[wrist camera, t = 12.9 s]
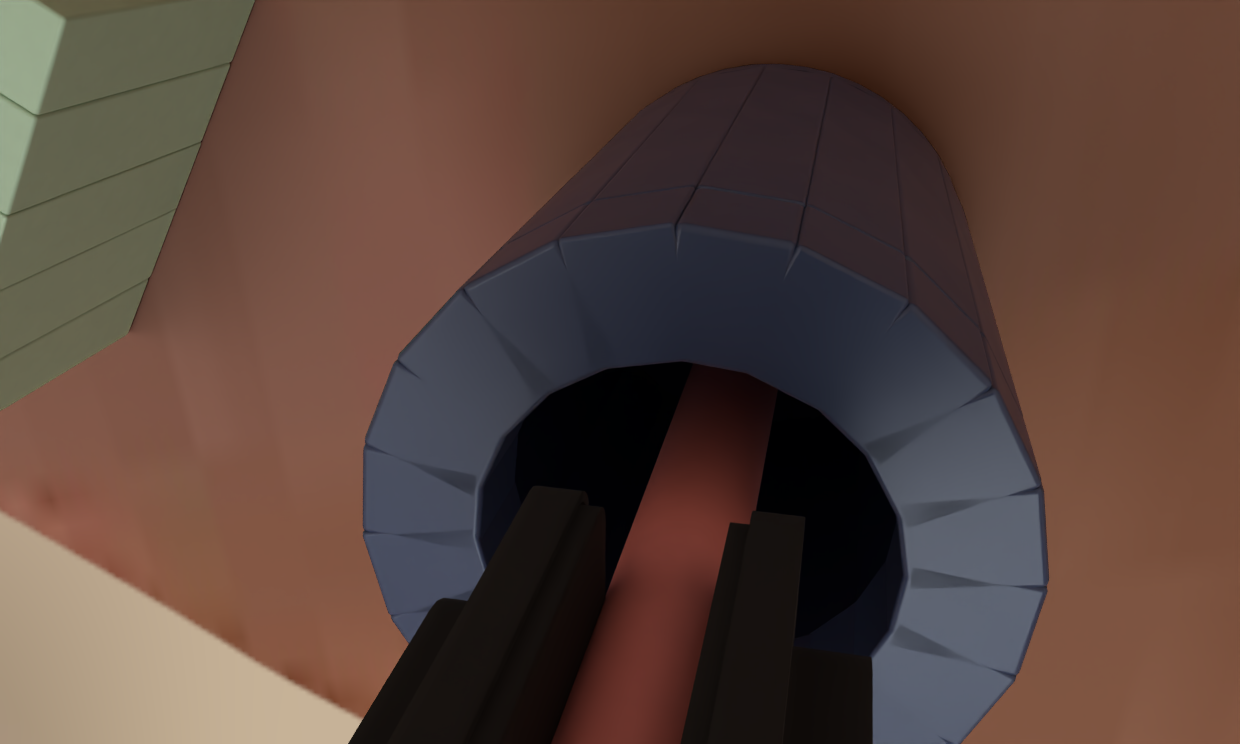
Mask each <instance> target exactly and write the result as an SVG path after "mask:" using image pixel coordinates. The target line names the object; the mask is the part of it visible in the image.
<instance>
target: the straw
mask: <svg viewBox="0 0 1240 744" xmlns="http://www.w3.org/2000/svg"><path fill="white" fill-rule="evenodd" d="M777 392H778V389H776V388H774V387H773V386H771V385H769V384H767V383H765V382H763V381H761V380H759V379H757V378H755V377H753V376H751V375H749V374H747V373H742V372H737V371H732V370H726V369H721V368H716V367H711V366H705V365H700V364H695V363H693V365H692V368H691V370H690V373H689V376H688V378H687V381H686V384H685V386H684V389H683V392H682V394H681V397H680V400H679V402H678V405H677V408H676V410H675V413H674V416H673V418H672V421H671V423H670V426H669V429H668V431H667V434H666V437H665V439H664V442H663V445H662V447H661V450H660V453H659V455H658V458H657V461H656V463H655V466H654V469H653V471H652V474H651V477H650V479H649V482H648V485H647V487H646V490H645V492H644V495H643V498H642V500H641V503H640V506H639V508H638V511H637V514H636V516H635V519H634V522H633V524H632V527H631V530H630V532H629V535H628V538H627V540H626V543H625V546H624V548H623V551H622V554H621V556H620V559H619V561H618V564H617V567H616V569H615V572H614V575H613V577H612V580H611V583H610V585H609V588H608V591H607V593H606V596H605V601H604V604H603V607H602V609H601V612H600V615H599V617H598V620H597V623H596V625H595V628H594V631H593V633H592V636H591V639H590V641H589V644H588V647H587V649H586V652H585V655H584V657H583V660H582V663H581V665H580V668H579V671H578V673H577V676H576V678H575V681H574V684H573V686H572V689H571V692H570V694H569V697H568V700H567V702H566V705H565V708H564V710H563V713H562V716H561V718H560V721H559V724H558V726H557V729H556V732H555V734H554V737H553V740H552V742H551V744H680V743H681V739H682V734H683V730H684V725H685V721H686V716H687V712H688V708H689V703H690V699H691V694H692V690H693V685H694V681H695V676H696V672H697V667H698V663H699V658H700V654H701V649H702V645H703V640H704V636H705V631H706V627H707V622H708V618H709V613H710V609H711V604H712V600H713V595H714V591H715V586H716V582H717V577H718V573H719V568H720V564H721V559H722V555H723V551H724V546H725V542H726V537H727V533H728V528H729V524H730V522H733V523H742V524H750V519H751V514H752V511H756V506H757V501H758V495H759V490H760V484H761V479H762V474H763V468H764V463H765V457H766V452H767V446H768V441H769V436H770V430H771V425H772V419H773V414H774V409H775V403H776V398H777Z"/></svg>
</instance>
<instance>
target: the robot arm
mask: <svg viewBox="0 0 1240 744" xmlns="http://www.w3.org/2000/svg"><path fill="white" fill-rule="evenodd" d="M804 528H805V517H802V516H794V515H785V514H777V513H768V512H760V511H752V514H751V519H750V524H742V523H733V522H730V524H729V528H728V533H727V537H726V542H725V546H724V551H723V555H722V559H721V564H720V568H719V573H718V577H717V582H716V586H715V591H714V595H713V600H712V604H711V609H710V613H709V618H708V622H707V627H706V631H705V636H704V640H703V645H702V649H701V654H700V658H699V663H698V667H697V672H696V676H695V681H694V685H693V690H692V694H691V699H690V703H689V708H688V712H687V716H686V721H685V725H684V730H683V734H682V739H681V743H680V744H873V667H872V658H871V657H868V656H861V655H854V654H847V653H839V652H832V651H825V650H818V649H811V648H804V647H797V646H794V636H795V626H796V615H797V604H798V593H799V582H800V572H801V561H802V550H803V539H804ZM605 543H606V520H605V510H604V508H603V507H598V506H590V505H589V501H588V496H587V493H586V492H585V491H579V490H570V489H562V488H553V487H545V486H533V487H532V488H531V490H530V491H529V493H528V494H527V496H526V498H525V500H524V501H523V503H522V505H521V507H520V509H519V510H518V512H517V514H516V516H515V517H514V519H513V521H512V523H511V525H510V526H509V528H508V530H507V532H506V533H505V535H504V537H503V539H502V541H501V542H500V544H499V546H498V548H497V549H496V551H495V553H494V555H493V556H492V558H491V560H490V562H489V564H488V565H487V567H486V569H485V571H484V572H483V574H482V576H481V578H480V580H479V581H478V583H477V585H476V587H475V588H474V590H473V592H472V594H471V595H470V597H469V599H468V601H465V600H458V599H451V598H442V599H439V600H437V601H436V603H435V604H434V605H433V606H432V608H431V609H430V610H429V612H428V613H427V615H426V617H425V618H424V620H423V622H422V623H421V625H420V627H419V628H418V630H417V631H416V633H415V635H414V636H413V638H412V640H411V641H410V643H409V645H408V646H407V648H406V650H405V651H404V653H403V654H402V656H401V658H400V659H399V661H398V663H397V664H396V666H395V668H394V669H393V671H392V673H391V674H390V676H389V677H388V679H387V681H386V682H385V684H384V686H383V687H382V689H381V691H380V692H379V694H378V696H377V697H376V699H375V700H374V702H373V704H372V705H371V707H370V709H369V710H368V712H367V714H366V715H365V717H364V719H363V720H362V722H361V723H360V725H359V727H358V728H357V730H356V732H355V733H354V735H353V737H352V738H351V740H350V742H349V743H348V744H551V742H552V740H553V737H554V734H555V732H556V729H557V726H558V724H559V721H560V718H561V716H562V713H563V710H564V708H565V705H566V702H567V700H568V697H569V694H570V692H571V689H572V686H573V684H574V681H575V678H576V676H577V673H578V671H579V668H580V665H581V663H582V660H583V657H584V655H585V652H586V649H587V647H588V644H589V641H590V639H591V636H592V633H593V631H594V628H595V625H596V623H597V620H598V617H599V615H600V612H601V609H602V607H603V604H604V601H605Z"/></svg>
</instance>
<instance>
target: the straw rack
mask: <svg viewBox="0 0 1240 744" xmlns="http://www.w3.org/2000/svg"><path fill="white" fill-rule="evenodd" d="M254 2H255V0H0V411H1V410H3V409H5V408H6V407H8V406H10V405H11V404H13V403H15V402H16V401H18V400H19V399H21V398H23V397H24V396H26V395H28V394H29V393H31V392H33V391H34V390H36V389H38V388H39V387H41V386H43V385H44V384H46V383H48V382H49V381H51V380H53V379H54V378H56V377H58V376H59V375H61V374H63V373H64V372H66V371H67V370H69V369H71V368H72V367H74V366H76V365H77V364H79V363H81V362H82V361H84V360H86V359H87V358H89V357H91V356H92V355H94V354H96V353H97V352H99V351H101V350H102V349H104V348H106V347H107V346H109V345H111V344H112V343H114V342H116V341H117V340H119V339H120V338H122V337H124V336H125V335H127V334H128V332H129V329H130V327H131V324H132V322H133V319H134V316H135V314H136V311H137V308H138V306H139V303H140V301H141V298H142V295H143V293H144V290H145V287H146V285H147V282H148V278H149V277H150V276H151V274H152V271H153V269H154V266H155V263H156V261H157V258H158V256H159V253H160V250H161V248H162V245H163V242H164V240H165V237H166V234H167V232H168V229H169V227H170V224H171V221H172V219H173V216H174V213H175V211H176V208H177V206H178V203H179V200H180V198H181V195H182V193H183V190H184V187H185V185H186V182H187V179H188V177H189V174H190V171H191V169H192V166H193V164H194V161H195V158H196V156H197V153H198V150H199V148H200V145H201V142H200V141H201V140H202V139H203V136H204V133H205V131H206V128H207V125H208V123H209V120H210V117H211V115H212V112H213V110H214V107H215V104H216V102H217V99H218V96H219V94H220V91H221V89H222V86H223V83H224V81H225V78H226V75H227V73H228V70H229V67H230V63H229V62H231V61H232V59H233V57H234V54H235V52H236V49H237V46H238V44H239V41H240V38H241V36H242V33H243V31H244V28H245V25H246V23H247V20H248V17H249V15H250V12H251V9H252V7H253V4H254Z"/></svg>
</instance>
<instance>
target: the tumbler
mask: <svg viewBox="0 0 1240 744" xmlns="http://www.w3.org/2000/svg"><path fill="white" fill-rule="evenodd" d="M693 363H695V364H700V365H705V366H711V367H716V368H721V369H726V370H732V371H737V372H742V373H747V374H749V375H751V376H753V377H755V378H757V379H759V380H761V381H763V382H765V383H767V384H769V385H771V386H773V387H774V388H776V389H778V392H777V398H776V403H775V409H774V414H773V419H772V425H771V430H770V436H769V441H768V446H767V452H766V457H765V463H764V468H763V474H762V479H761V484H760V490H759V495H758V501H757V506H756V511H760V512H768V513H777V514H785V515H794V516H802V517H805V528H804V539H803V550H802V561H801V572H800V582H799V593H798V604H797V615H796V626H795V636H794V646H797V647H804V648H811V649H818V650H825V651H832V652H839V653H847V654H854V655H861V656H868V657H871V658H872V667H873V744H961V743H962V741H963V740H964V739H965V738H966V737H967V736H968V735H969V733H970V732H971V731H972V730H973V729H974V728H975V726H976V725H977V724H978V723H979V722H980V721H981V719H982V718H983V717H984V716H985V715H986V714H987V713H988V711H989V710H990V709H991V708H992V707H993V706H994V704H995V703H996V702H997V701H998V700H999V699H1000V697H1001V696H1002V695H1003V694H1004V693H1005V692H1006V690H1007V689H1008V688H1009V687H1010V686H1011V685H1012V684H1013V682H1014V681H1015V679H1016V675H1017V674H1018V673H1019V671H1020V669H1021V666H1022V663H1023V660H1024V657H1025V654H1026V651H1027V649H1028V646H1029V643H1030V640H1031V637H1032V634H1033V631H1034V629H1035V626H1036V623H1037V620H1038V617H1039V614H1040V611H1041V609H1042V606H1043V603H1044V600H1045V597H1046V594H1047V584H1048V581H1049V569H1048V552H1047V535H1046V518H1045V501H1044V490H1043V486H1042V483H1041V477H1040V474H1039V471H1038V467H1037V464H1036V460H1035V457H1034V453H1033V450H1032V446H1031V443H1030V439H1029V436H1028V432H1027V429H1026V425H1025V422H1024V419H1023V415H1022V411H1021V408H1020V404H1019V401H1018V397H1017V394H1016V390H1015V387H1014V383H1013V380H1012V377H1011V373H1010V370H1009V366H1008V363H1007V359H1006V356H1005V352H1004V349H1003V345H1002V342H1001V338H1000V335H999V331H998V328H997V324H996V321H995V318H994V314H993V311H992V307H991V304H990V300H989V297H988V293H987V290H986V286H985V283H984V279H983V276H982V272H981V269H980V265H979V262H978V259H977V255H976V252H975V248H974V245H973V241H972V238H971V234H970V231H969V227H968V224H967V220H966V217H965V213H964V210H963V208H962V205H961V203H960V201H959V199H958V197H957V194H956V192H955V190H954V187H953V184H952V181H951V179H950V176H949V174H948V172H947V170H946V169H945V167H944V165H943V163H942V161H941V159H940V157H939V156H938V154H937V152H936V151H935V150H934V148H933V147H932V146H931V144H930V143H929V142H928V140H927V139H926V138H925V136H924V135H923V134H922V132H921V131H920V130H919V129H918V128H917V127H916V126H915V125H914V124H913V123H912V122H911V121H910V120H909V119H908V118H907V117H906V116H905V115H904V114H903V113H902V112H901V111H899V110H898V109H897V108H895V107H894V106H893V105H891V104H890V103H889V102H887V101H886V100H885V99H884V98H882V97H881V96H879V95H877V94H876V93H874V92H872V91H870V90H868V89H867V88H865V87H863V86H861V85H860V84H858V83H855V82H853V81H850V80H848V79H845V78H843V77H840V76H838V75H835V74H833V73H829V72H825V71H821V70H817V69H812V68H808V67H803V66H793V65H784V64H759V65H747V66H741V67H735V68H728V69H724V70H720V71H717V72H714V73H711V74H707V75H704V76H701V77H698V78H696V79H694V80H692V81H690V82H687V83H685V84H683V85H681V86H679V87H676V88H675V89H673V90H672V91H670V92H668V93H667V94H665V95H664V96H662V97H661V98H659V99H657V100H656V101H654V102H653V103H651V104H650V105H648V106H646V107H645V108H644V109H643V110H641V111H640V112H639V113H638V114H637V115H636V116H635V117H634V118H633V119H632V120H631V121H630V122H629V123H628V124H627V125H626V126H625V127H624V128H623V129H622V130H620V131H619V132H618V133H617V134H616V135H615V136H614V137H613V138H612V139H611V140H610V141H609V142H608V143H607V144H606V145H605V146H604V147H603V148H602V149H601V150H600V151H599V152H598V153H597V154H596V155H595V156H594V157H593V158H592V159H591V160H590V161H589V162H588V163H587V164H586V165H585V166H584V167H583V168H582V169H581V170H580V171H579V172H578V173H577V174H576V175H575V176H574V177H573V178H572V179H571V180H570V181H568V182H567V183H566V184H565V185H564V186H563V187H562V188H561V189H560V190H559V191H558V192H557V193H556V194H555V195H554V196H553V197H552V198H551V199H550V200H549V201H548V202H547V203H546V204H545V205H544V206H543V207H542V208H541V209H540V210H539V211H538V212H537V213H536V214H535V215H534V216H533V217H532V218H531V219H530V220H529V221H528V222H527V223H526V224H525V225H524V226H523V227H522V228H521V229H520V230H519V231H518V232H516V233H515V234H514V235H513V236H512V237H511V238H510V239H509V240H508V241H507V242H506V243H505V244H504V245H503V246H502V247H501V248H500V249H499V250H498V251H497V252H496V253H495V254H494V255H493V256H492V257H491V258H490V259H489V260H488V261H487V262H486V263H485V264H484V265H483V266H482V267H481V268H480V269H479V270H478V271H477V272H476V273H475V274H474V275H473V276H472V277H471V278H470V279H469V280H468V281H466V282H465V283H464V284H463V285H462V286H461V287H460V288H459V289H458V290H457V291H456V293H455V294H454V295H453V296H452V297H451V298H450V299H449V300H448V301H447V302H446V303H445V305H444V306H443V307H442V308H441V309H440V310H439V311H438V312H437V313H436V314H435V315H434V317H433V318H432V319H431V320H430V321H429V322H428V323H427V324H426V325H425V326H424V327H423V328H422V330H421V331H420V332H419V333H418V334H417V335H416V336H415V337H414V338H413V339H412V340H411V342H410V343H409V344H408V345H407V346H406V347H405V348H404V349H403V350H402V351H401V352H400V354H399V356H398V359H397V360H396V361H395V362H394V364H393V367H392V369H391V372H390V374H389V377H388V380H387V382H386V385H385V387H384V390H383V392H382V395H381V398H380V400H379V403H378V405H377V408H376V411H375V413H374V416H373V418H372V421H371V423H370V426H369V429H368V431H367V434H366V436H365V443H366V444H365V446H364V450H363V528H364V532H363V538H364V541H365V544H366V547H367V550H368V553H369V556H370V559H371V562H372V565H373V568H374V571H375V574H376V577H377V580H378V583H379V586H380V589H381V592H382V595H383V598H384V601H385V604H386V607H387V610H388V613H389V614H390V615H391V618H392V620H393V622H394V623H395V625H396V626H397V627H398V629H399V630H400V632H401V633H402V635H403V636H404V637H405V639H406V640H407V642H408V643H410V641H411V640H412V638H413V636H414V635H415V633H416V631H417V630H418V628H419V627H420V625H421V623H422V622H423V620H424V618H425V617H426V615H427V613H428V612H429V610H430V609H431V608H432V606H433V605H434V604H435V603H436V601H437V600H439V599H442V598H451V599H458V600H465V601H468V599H469V597H470V595H471V594H472V592H473V590H474V588H475V587H476V585H477V583H478V581H479V580H480V578H481V576H482V574H483V572H484V571H485V569H486V567H487V565H488V564H489V562H490V560H491V558H492V556H493V555H494V553H495V551H496V549H497V548H498V546H499V544H500V542H501V541H502V539H503V537H504V535H505V533H506V532H507V530H508V528H509V526H510V525H511V523H512V521H513V519H514V517H515V516H516V514H517V512H518V510H519V509H520V507H521V505H522V503H523V501H524V500H525V498H526V496H527V494H528V493H529V491H530V490H531V488H532V487H533V486H545V487H553V488H562V489H570V490H579V491H585V492H586V493H587V496H588V501H589V505H590V506H598V507H603V508H604V510H605V520H606V543H605V596H606V593H607V591H608V588H609V585H610V583H611V580H612V577H613V575H614V572H615V569H616V567H617V564H618V561H619V559H620V556H621V554H622V551H623V548H624V546H625V543H626V540H627V538H628V535H629V532H630V530H631V527H632V524H633V522H634V519H635V516H636V514H637V511H638V508H639V506H640V503H641V500H642V498H643V495H644V492H645V490H646V487H647V485H648V482H649V479H650V477H651V474H652V471H653V469H654V466H655V463H656V461H657V458H658V455H659V453H660V450H661V447H662V445H663V442H664V439H665V437H666V434H667V431H668V429H669V426H670V423H671V421H672V418H673V416H674V413H675V410H676V408H677V405H678V402H679V400H680V397H681V394H682V392H683V389H684V386H685V384H686V381H687V378H688V376H689V373H690V370H691V368H692V365H693Z"/></svg>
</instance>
